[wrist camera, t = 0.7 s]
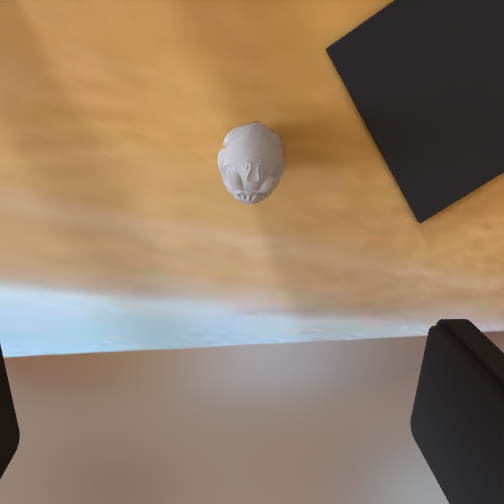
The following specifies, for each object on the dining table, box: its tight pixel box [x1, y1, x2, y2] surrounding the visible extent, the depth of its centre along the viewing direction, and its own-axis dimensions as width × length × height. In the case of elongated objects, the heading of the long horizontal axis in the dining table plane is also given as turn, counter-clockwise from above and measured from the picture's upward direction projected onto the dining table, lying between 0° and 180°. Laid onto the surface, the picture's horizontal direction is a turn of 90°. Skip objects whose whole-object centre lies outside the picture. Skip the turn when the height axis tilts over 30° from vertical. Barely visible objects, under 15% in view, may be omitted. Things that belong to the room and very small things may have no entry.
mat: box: [326, 0, 504, 223], centre depth 41 cm, size 20×16×1 cm
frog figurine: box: [218, 121, 285, 204], centre depth 39 cm, size 6×7×7 cm
